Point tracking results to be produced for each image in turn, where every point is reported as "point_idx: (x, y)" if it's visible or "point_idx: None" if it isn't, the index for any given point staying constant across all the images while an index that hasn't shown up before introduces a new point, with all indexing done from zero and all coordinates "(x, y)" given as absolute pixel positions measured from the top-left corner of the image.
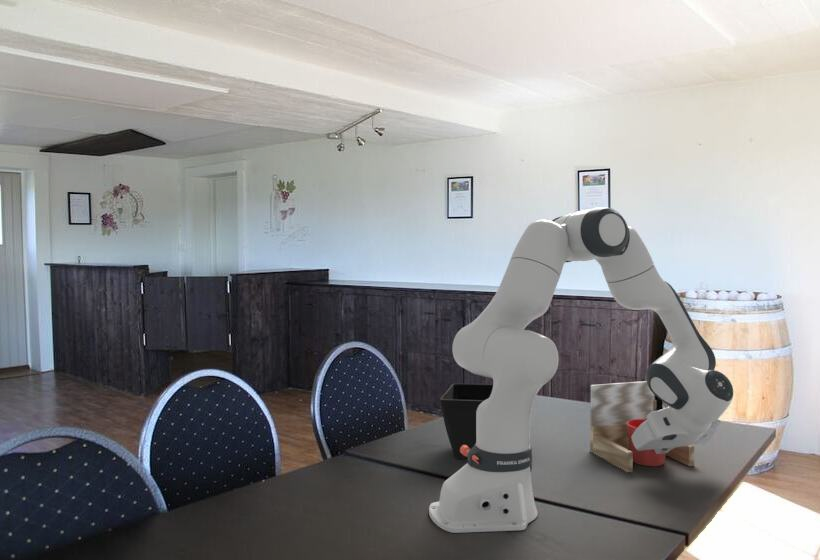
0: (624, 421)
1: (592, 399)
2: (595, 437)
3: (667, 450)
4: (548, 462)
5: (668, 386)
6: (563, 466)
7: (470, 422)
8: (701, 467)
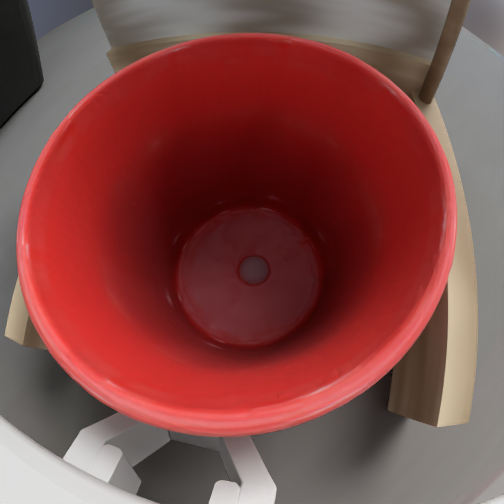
0: (273, 23)
1: None
2: None
3: (219, 449)
4: (9, 170)
5: None
6: (3, 205)
7: None
8: (421, 437)
